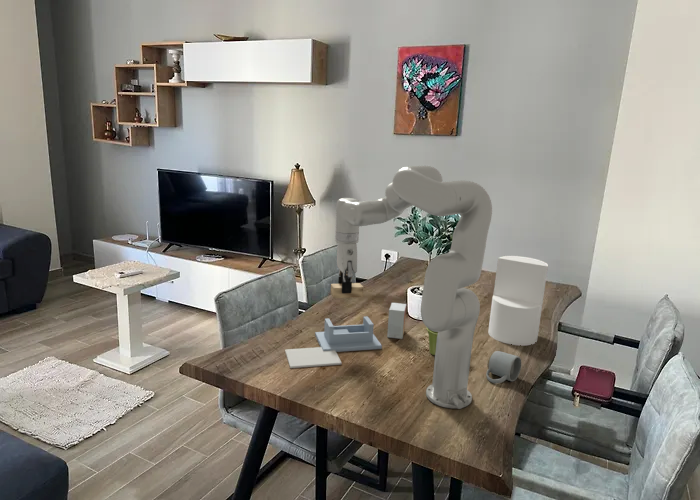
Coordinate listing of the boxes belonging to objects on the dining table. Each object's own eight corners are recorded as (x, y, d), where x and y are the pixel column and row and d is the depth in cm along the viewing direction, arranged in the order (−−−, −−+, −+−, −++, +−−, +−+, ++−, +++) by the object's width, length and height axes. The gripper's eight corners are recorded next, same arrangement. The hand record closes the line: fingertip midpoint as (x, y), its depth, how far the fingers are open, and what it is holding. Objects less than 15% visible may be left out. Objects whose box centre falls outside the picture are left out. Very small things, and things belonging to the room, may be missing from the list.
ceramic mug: (496, 367, 163) (498, 345, 161) (520, 376, 157) (523, 353, 155) (479, 378, 155) (481, 355, 153) (504, 389, 150) (506, 365, 148)
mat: (341, 364, 160) (341, 362, 159) (290, 368, 156) (290, 366, 155) (333, 347, 171) (333, 346, 171) (285, 351, 167) (285, 349, 167)
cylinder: (495, 322, 200) (504, 253, 193) (541, 333, 192) (552, 261, 185) (482, 337, 185) (491, 262, 179) (531, 349, 177) (542, 272, 170)
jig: (369, 332, 185) (370, 312, 183) (381, 348, 172) (383, 327, 170) (315, 335, 180) (315, 315, 178) (323, 352, 167) (323, 331, 165)
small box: (402, 339, 180) (404, 311, 178) (386, 337, 181) (388, 309, 179) (404, 330, 188) (407, 303, 185) (389, 329, 189) (391, 302, 186)
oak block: (359, 292, 174) (359, 282, 173) (362, 297, 170) (363, 287, 169) (330, 293, 172) (330, 283, 171) (333, 298, 167) (333, 288, 167)
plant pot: (431, 360, 165) (433, 335, 163) (419, 348, 174) (422, 324, 172) (457, 358, 168) (460, 333, 166) (445, 346, 177) (447, 322, 175)
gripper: (365, 242, 159) (362, 298, 163) (352, 231, 175) (349, 282, 179) (341, 242, 157) (339, 299, 161) (330, 231, 173) (328, 283, 177)
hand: (344, 289), depth 170 cm, fingers closed on oak block, 4 cm apart
